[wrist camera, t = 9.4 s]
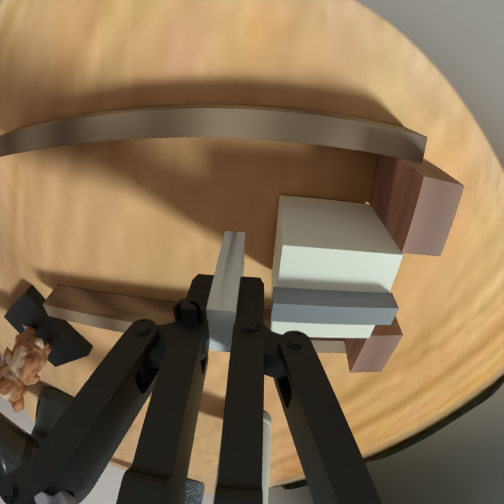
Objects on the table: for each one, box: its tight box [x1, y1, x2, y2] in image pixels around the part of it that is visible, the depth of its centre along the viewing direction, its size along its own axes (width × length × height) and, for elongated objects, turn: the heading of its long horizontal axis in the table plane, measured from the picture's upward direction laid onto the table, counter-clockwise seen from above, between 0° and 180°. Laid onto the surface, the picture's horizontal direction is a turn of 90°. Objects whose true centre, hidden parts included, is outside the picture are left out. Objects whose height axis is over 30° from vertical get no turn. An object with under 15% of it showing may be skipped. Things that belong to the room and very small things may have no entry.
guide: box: [0, 104, 464, 373], centre depth 18 cm, size 29×17×6 cm, turn 87°
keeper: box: [271, 195, 403, 338], centre depth 17 cm, size 6×6×7 cm
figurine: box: [0, 285, 93, 412], centre depth 24 cm, size 10×10×12 cm
